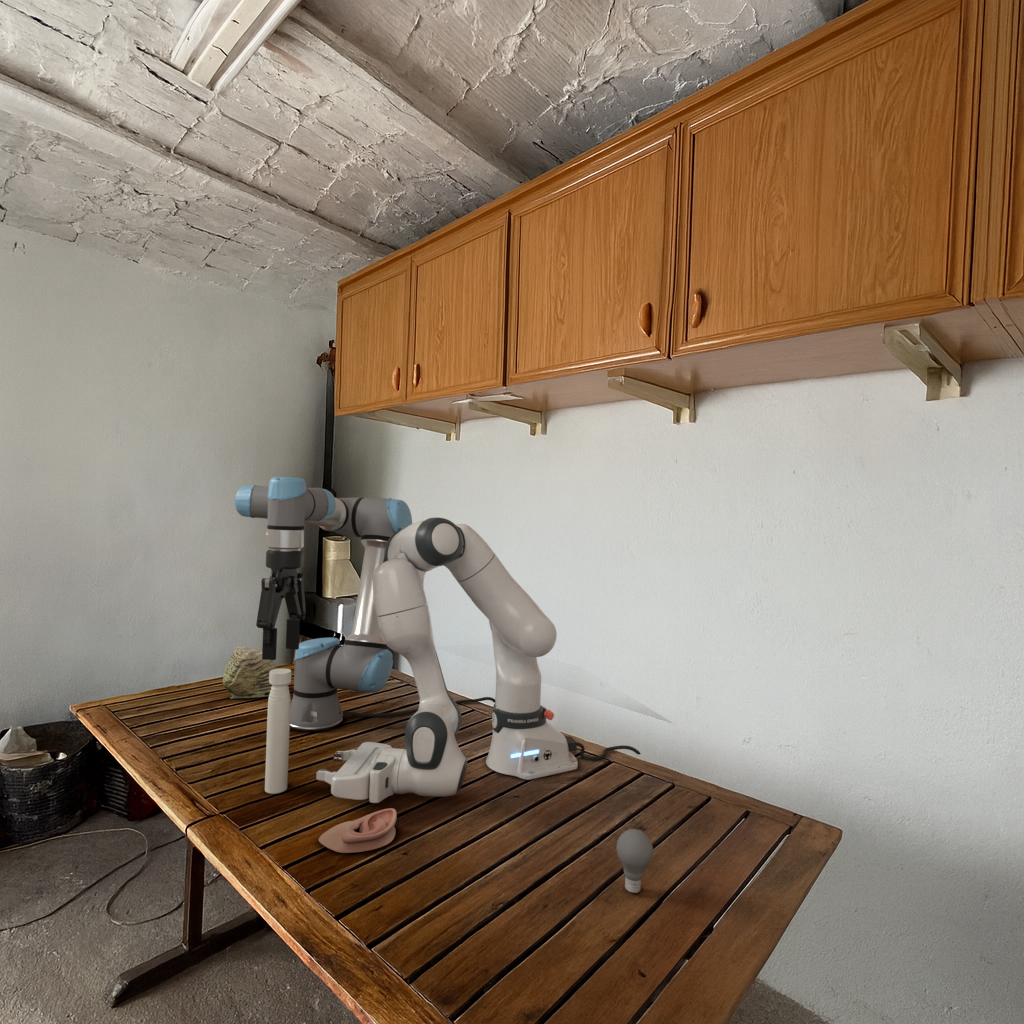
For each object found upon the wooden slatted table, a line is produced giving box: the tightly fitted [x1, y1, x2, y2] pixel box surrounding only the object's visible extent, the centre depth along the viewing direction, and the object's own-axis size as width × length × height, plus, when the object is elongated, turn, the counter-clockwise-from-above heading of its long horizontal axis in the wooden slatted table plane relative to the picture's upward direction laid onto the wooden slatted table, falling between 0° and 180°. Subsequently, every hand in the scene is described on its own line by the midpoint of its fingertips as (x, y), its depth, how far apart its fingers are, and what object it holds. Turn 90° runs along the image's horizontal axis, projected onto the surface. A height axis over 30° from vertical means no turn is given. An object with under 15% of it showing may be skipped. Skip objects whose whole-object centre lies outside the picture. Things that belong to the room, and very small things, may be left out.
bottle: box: [264, 684, 292, 795], centre depth 136 cm, size 5×5×25 cm
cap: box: [269, 668, 292, 685], centre depth 136 cm, size 4×4×2 cm
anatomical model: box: [318, 807, 398, 854], centre depth 118 cm, size 13×4×12 cm
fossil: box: [222, 646, 279, 699], centre depth 198 cm, size 9×18×15 cm, turn 132°
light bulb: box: [615, 828, 654, 894], centre depth 106 cm, size 6×6×10 cm
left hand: (281, 653), depth 136 cm, fingers open, 9 cm apart
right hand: (326, 764), depth 135 cm, fingers open, 8 cm apart
